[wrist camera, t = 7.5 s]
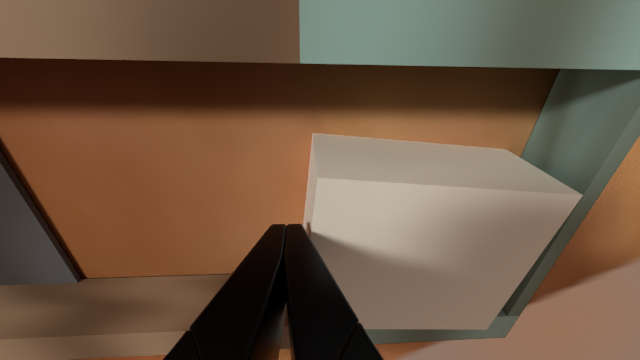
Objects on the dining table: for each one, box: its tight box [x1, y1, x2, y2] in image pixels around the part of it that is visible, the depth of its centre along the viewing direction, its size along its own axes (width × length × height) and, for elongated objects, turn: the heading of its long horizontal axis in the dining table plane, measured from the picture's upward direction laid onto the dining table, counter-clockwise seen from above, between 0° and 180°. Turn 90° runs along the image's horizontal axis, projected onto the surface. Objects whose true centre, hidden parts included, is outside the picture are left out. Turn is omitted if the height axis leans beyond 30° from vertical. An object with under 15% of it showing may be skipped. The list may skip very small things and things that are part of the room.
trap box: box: [0, 0, 640, 360], centre depth 8 cm, size 26×12×2 cm, turn 89°
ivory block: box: [303, 133, 583, 330], centre depth 10 cm, size 7×6×4 cm
